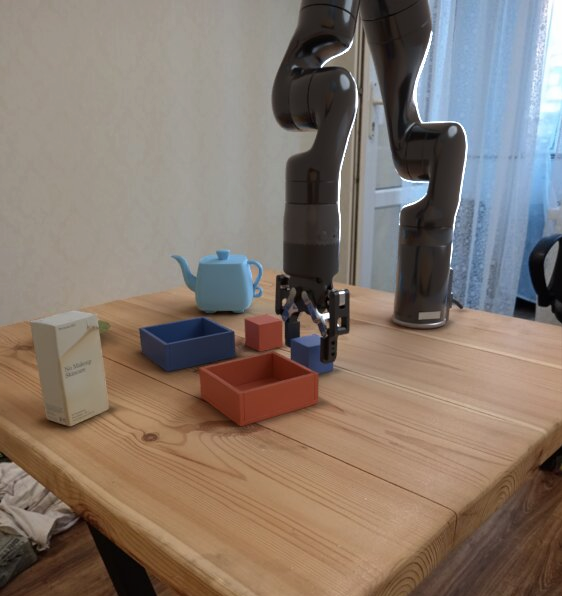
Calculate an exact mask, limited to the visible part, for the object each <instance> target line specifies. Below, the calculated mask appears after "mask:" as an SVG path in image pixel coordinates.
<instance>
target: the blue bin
mask: <svg viewBox="0 0 562 596" xmlns="http://www.w3.org/2000/svg"><path fill="white" fill-rule="evenodd" d="M138 332H139V341H140V342H139V343H140V350H141V352H140V353H141V354H142V355H144V356H145V357H147V358H148V359H149V360H151V361H152V362H153V363H154V364H156V365H157V366H159V367H160V368H161V369H163V370H164V371H165V372H167V373H170V372H174V371H178V370H182V369H187V368H193V367H196V366H200V365H206V364H210V363H215V362H219V361H224V360H227V359H232V358H235V357H236V335H235V331H234V330H233V329H231V328H229V327H227V326H225V325H223V324H220V323H218V322H217V321H214V320H212V319H211V318H208V317H206V316H199V317H192V318H187V319H182V320H181V319H180V320H175V321H170V322H164V323H159V324H154V325H153V324H152V325H147V326H142V327H138Z"/></svg>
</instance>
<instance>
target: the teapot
mask: <svg viewBox="0 0 562 596" xmlns="http://www.w3.org/2000/svg"><path fill="white" fill-rule="evenodd" d="M215 253H216V254H207V255H205V256H203V257H201V258H200V260H199V262H198V266H197V271H196V276H195V275H194V274H193V273H192V272H191V269H190V266H189V264H188V261H187V259H186V258H185V257H184V256H181V255H175V254H169V256H170V257H171V258H173V259H174V260H175V261H176V262H177V263H178V264H179V267H180V269H181V273H182V277H183V281H184V283H185V286H186V287H187V288H188V289H189V290H190V291H191V292H193V293H194V298H195V303H196V305H197V308H198V309H199V311H202V312H204V313H205V314H214V313H216V312H232V313H234V314H241V313H244V312H245V311H246V310H248V309H249V308H250V307H251V305H252V303H253V300H254V298H255V299H257V298H258V299H259V298H261V297H262V296H263V294H264V290H263V288H262V287H261V286H259V284H260V282H261V280H262V277H263V274H264V267H263V266H262V264H261V263H260V262H259V261H257V260H256V259H255V260H254V259H248V256H247V255H245V254H231V250H230V249H225V248H224V249H217V250H215ZM250 265H252V266H255V267H257V268H258V273H257V276H256V278H255V280H254V279H253V275H252V270H251V267H250ZM256 290H257V291H259V292H258V293H257V292H256Z"/></svg>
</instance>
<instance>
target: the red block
mask: <svg viewBox="0 0 562 596" xmlns="http://www.w3.org/2000/svg"><path fill="white" fill-rule="evenodd" d="M244 342H245V343H244V344H245V345H246V346H247V347H250V348H252V349H254V350H255V351H257V352H264V351H265V352H266V351H268V350H274V349H277V348H282V347H283V320H282V319H281V318H278V317H275V316H273V315H271V314H268V313H266V314H262V315H255V316H250V317H246V318H244Z"/></svg>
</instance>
